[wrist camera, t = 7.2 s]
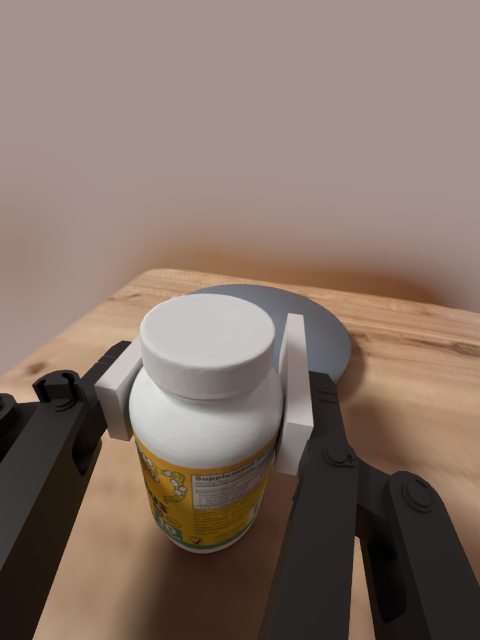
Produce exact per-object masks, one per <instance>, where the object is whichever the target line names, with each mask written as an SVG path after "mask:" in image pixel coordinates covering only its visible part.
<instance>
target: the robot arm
mask: <svg viewBox="0 0 480 640" xmlns="http://www.w3.org/2000/svg"><path fill="white" fill-rule="evenodd" d="M173 298H177V297H175V296H172V298H171V299H173ZM142 367H143V359H142V350H141V341H140V334H139V335H138V336H137V337H136V338H135V339H134V341H133V342H129V341H121V342H119V343H117V344H116V345H114V346H112V347H111V348H110V349H109V350H108V351H107V352H106V353H105V354H104V356H102V357H101V358H100V359H99V360H98V363H95V365H94V366H93V367H92V368H91V369H90V370H89V371H88V372H87V373H86V374H85V375H84V376H83V377H82V378H81V379H80V377H79V375H78V373H76V372H74V371H72V370H59V371H54V372H52V373H49V374H46V375H44V376H43V377H41V378H39V379H38V380H37V381H36V382H35V383H34V384H33V385H32V386H33V388H34V390H35V392H36V394H37V396H38V398H39V400H40V402H28V403H17V402H16V401H15V399H14V397H13V396H12V395H10V394H7V393H0V640H32V639H33V636H34V633H35V631H36V628H37V625H38V622H39V620H40V617H41V614H42V611H43V609H44V606H45V603H46V600H47V597H48V595H49V592H50V589H51V586H52V584H53V581H54V578H55V575H56V572H57V570H58V567H59V564H60V561H61V559H62V556H63V553H64V550H65V548H66V545H67V542H68V539H69V536H70V534H71V531H72V528H73V525H74V523H75V520H76V517H77V514H78V511H79V509H80V506H81V503H82V500H83V498H84V495H85V492H86V489H87V486H88V484H89V481H90V478H91V475H92V473H93V470H94V467H95V464H96V462H97V459H98V456H99V453H100V450H101V447H102V440H101V436H102V435H103V433H104V432H105V431H106V429H108V432H109V436H110V438H115V439H120V440H125V441H130V439H131V438H132V436H133V434H134V433H133V428H132V424H131V420H130V413H129V399H130V393H131V389H132V386H133V383H134V381H135V379H136V376H137V375H138V373H139V372H140V370H141V369H142ZM279 379H280V381H281V384H282V388H283V393H284V409H283V415H282V420H281V424H280V429H279V433H278V437H277V441H276V445H275V462H274V472H279V473H284V474H289V475H294V476H296V474H297V471H299V483H298V486H297V489H296V491H295V494H294V496H293V499H292V501H293V504H292V508H291V512H290V516H289V520H288V524H287V528H286V531H285V535H284V539H283V543H282V547H281V551H280V555H279V559H278V563H277V567H276V571H275V575H274V578H273V582H272V586H271V590H270V594H269V598H268V602H267V606H266V610H265V614H264V618H263V622H262V626H261V629H260V633H259V637H258V640H348V636H349V620H350V604H351V587H352V571H353V555H354V539H355V536H356V537H358V538H359V539H360V545H361V551H362V558H363V564H364V570H365V576H366V582H367V588H368V595H369V601H370V607H371V613H372V619H373V626H374V632H375V638H376V640H480V587H479V585H478V582H477V580H476V578H475V575H474V573H473V571H472V568H471V566H470V564H469V561H468V559H467V557H466V554H465V552H464V550H463V547H462V545H461V543H460V540H459V538H458V536H457V533H456V531H455V529H454V526H453V524H452V522H451V519H450V517H449V515H448V512H447V510H446V508H445V505H444V503H443V501H442V500H441V498H440V496H439V495H438V493H437V492H436V491H435V490H434V488H433V487H432V486H431V485H430V484H429V483H428V482H426V481H425V480H424V479H422V478H421V477H419V476H418V475H415V474H413V473H410V472H408V471H398V472H396V473H394V474H392V475H391V476H390V475H388V474H386V473H384V472H382V471H380V470H378V469H376V468H374V467H372V466H370V465H368V464H367V463H365V462H363V461H362V460H361V459H360V458H359V457H357V456H356V454H355V452H354V450H353V449H352V448H351V447H350V446H349V444H348V442H347V439H346V435H345V430H344V425H343V420H342V415H341V411H340V406H339V401H338V396H337V392H336V387H335V383H334V382H333V380H332V379H331V378H330V376H329V375H328V374H326V373H320V372H314V371H308V362H307V351H306V341H305V330H304V319H303V315H299V314H292V313H288V316H287V321H286V326H285V331H284V336H283V341H282V346H281V351H280V359H279Z"/></svg>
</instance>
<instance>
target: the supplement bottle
mask: <svg viewBox="0 0 480 640" xmlns="http://www.w3.org/2000/svg"><path fill="white" fill-rule="evenodd" d="M275 339H276V329H275V325H274V323H273V321H272V319H271V317H270V316H269V315H268V314H267V313H266V312H265V311H264V310H263V309H261V308H260V307H258V306H257V305H255V304H253V303H251V302H248V301H246V300H243V299H240V298H236V297H232V296H228V295H220V294H192V295H186V296H180V297H177V298H173V299H170V300H167V301H165V302H162V303H160V304H159V305H157V306H155V307H154V308H153V309H151V310H150V311H149V312H148V313H147V314H146V315H145V317H144V319H143V321H142V323H141V326H140V341H141V350H142V359H143V367H142V369H141V370H140V372H139V373H138V375H137V376H136V379H135V381H134V383H133V386H132V389H131V393H130V399H129V413H130V420H131V424H132V428H133V433H134V437H135V442H136V446H137V450H138V454H139V459H140V463H141V467H142V473H143V476H144V481H145V486H146V490H147V494H148V498H149V503H150V507H151V510H152V514H153V516H154V519H155V521H156V523H157V525H158V527H159V528H160V529H161V531H162V532H163V533H164V534H165V535H166V536H167V537H168V538H169V539H170V540H171V541H172V542H174V543H175V544H176V545H178V546H179V547H181V548H183V549H185V550H188V551H191V552H194V553H211V552H215V551H219V550H222V549H224V548H226V547H228V546H230V545H232V544H233V543H235V542H236V541H237V540H239V539H240V538H241V537H242V536H243V535H244V534H245V533H246V532H247V530H248V529H249V528H250V526H251V525H252V523H253V522H254V520H255V518H256V516H257V514H258V512H259V509H260V505H261V502H262V498H263V494H264V490H265V487H266V483H267V479H268V474H269V470H270V466H271V461H272V457H273V453H274V449H275V445H276V441H277V437H278V433H279V429H280V424H281V420H282V415H283V409H284V393H283V388H282V384H281V381H280V379H279V376H278V374H277V372H276V371H275V369H274V368H273V366H272V362H273V352H274V345H275Z"/></svg>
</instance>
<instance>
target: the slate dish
mask: <svg viewBox="0 0 480 640" xmlns="http://www.w3.org/2000/svg"><path fill="white" fill-rule="evenodd" d="M192 294H220V295H228V296H232V297H236V298H240V299H243V300H246V301H248V302H251V303H253V304H255V305H257V306H258V307H260V308H261V309H263V310H264V311H265V312H266V313H267V314H268V315H269V316H270V317H271V319H272V321H273V323H274V325H275V329H276V339H275V345H274V352H273V362H272V366H273V368H274V369H275V371H276V372H277V374H278V376H279V359H280V351H281V346H282V341H283V336H284V331H285V326H286V321H287V316H288V313H292V314H299V315H303V319H304V330H305V341H306V351H307V362H308V371H314V372H320V373H326V374H328V375H329V376H330V378H331V379H332V380H333V382H334V383H335V385H336V384H337V382H338V381H339V380H340V379H341V377H342V375H343V374H344V372H345V369H346V367H347V364H348V362H349V359H350V355H351V340H350V337H349V334H348V332H347V330H346V329H345V327H344V326H343V324H342V323H341V322H340V321H339V320H338V319H337V317H335V316H334V315H333V314H332V313H331V312H330V311H328V310H327V309H325V308H324V307H322V306H321V305H319V304H317V303H316V302H314V301H312V300H310V299H308V298H305V297H303V296H300V295H298V294H295V293H292V292H289V291H285V290H282V289H277V288H273V287H267V286H260V285H248V284H231V285H220V286H213V287H208V288H204V289H200V290H197V291H194V292H192V293H189V294H187V295H192ZM185 296H186V295H185Z"/></svg>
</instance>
